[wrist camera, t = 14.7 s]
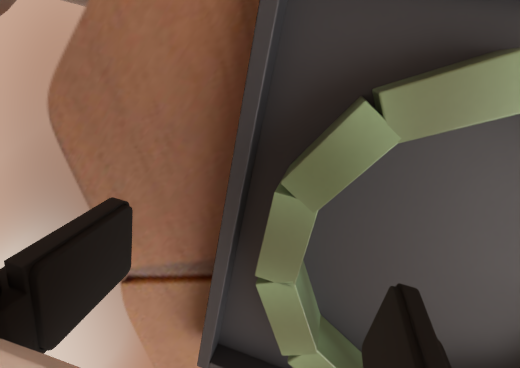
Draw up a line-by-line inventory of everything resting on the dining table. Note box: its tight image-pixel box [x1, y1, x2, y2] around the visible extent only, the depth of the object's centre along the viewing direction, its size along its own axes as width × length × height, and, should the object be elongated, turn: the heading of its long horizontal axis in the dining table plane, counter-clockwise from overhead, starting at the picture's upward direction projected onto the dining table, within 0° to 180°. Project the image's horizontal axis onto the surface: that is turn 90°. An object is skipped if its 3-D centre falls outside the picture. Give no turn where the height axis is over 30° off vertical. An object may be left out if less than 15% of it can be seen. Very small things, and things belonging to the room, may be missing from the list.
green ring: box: [255, 47, 520, 368], centre depth 13 cm, size 19×19×3 cm
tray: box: [197, 0, 520, 368], centre depth 14 cm, size 24×24×2 cm
